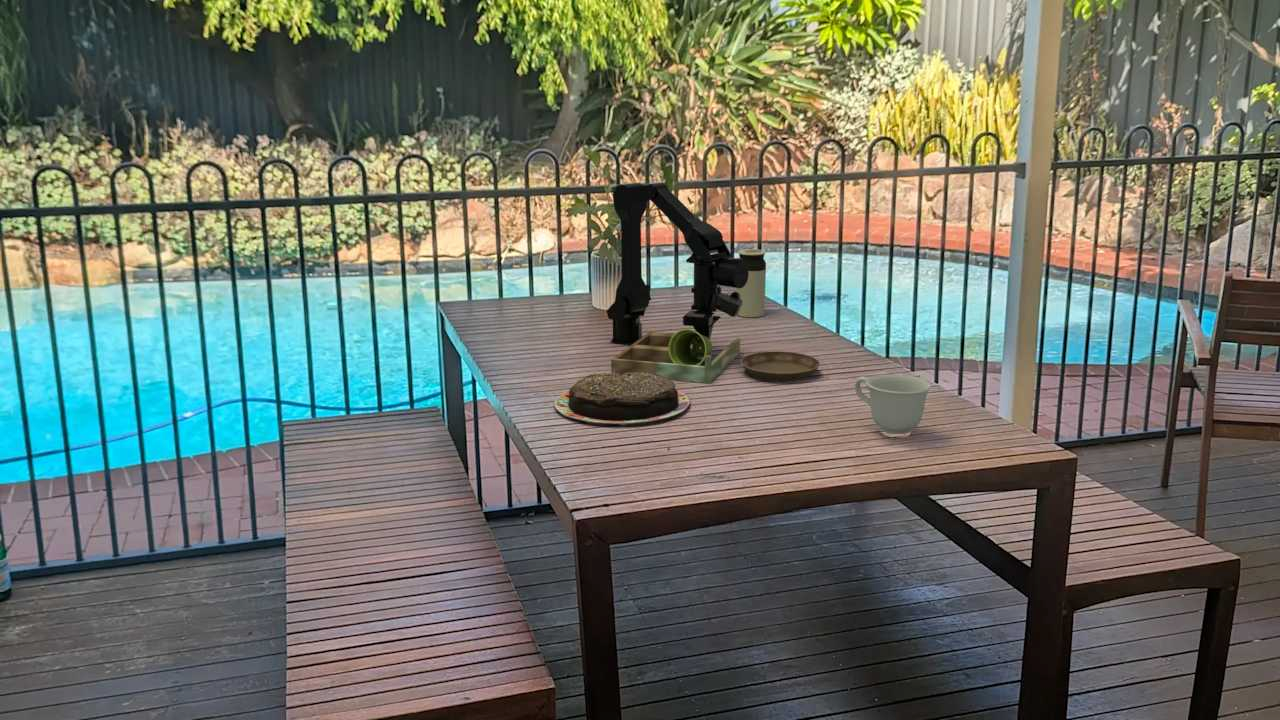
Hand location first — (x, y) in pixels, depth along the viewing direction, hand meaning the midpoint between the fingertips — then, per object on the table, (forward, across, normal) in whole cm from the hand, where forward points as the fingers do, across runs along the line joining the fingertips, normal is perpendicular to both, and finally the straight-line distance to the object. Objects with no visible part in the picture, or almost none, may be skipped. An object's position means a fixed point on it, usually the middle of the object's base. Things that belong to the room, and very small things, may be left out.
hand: (705, 347), depth 259 cm
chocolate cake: (+3, -42, +6) cm, 43 cm away
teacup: (+3, -42, -47) cm, 63 cm away
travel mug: (+3, +48, 0) cm, 49 cm away
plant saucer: (+3, -8, -20) cm, 21 cm away
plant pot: (0, -2, 0) cm, 2 cm away
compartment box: (+3, -7, +5) cm, 9 cm away
